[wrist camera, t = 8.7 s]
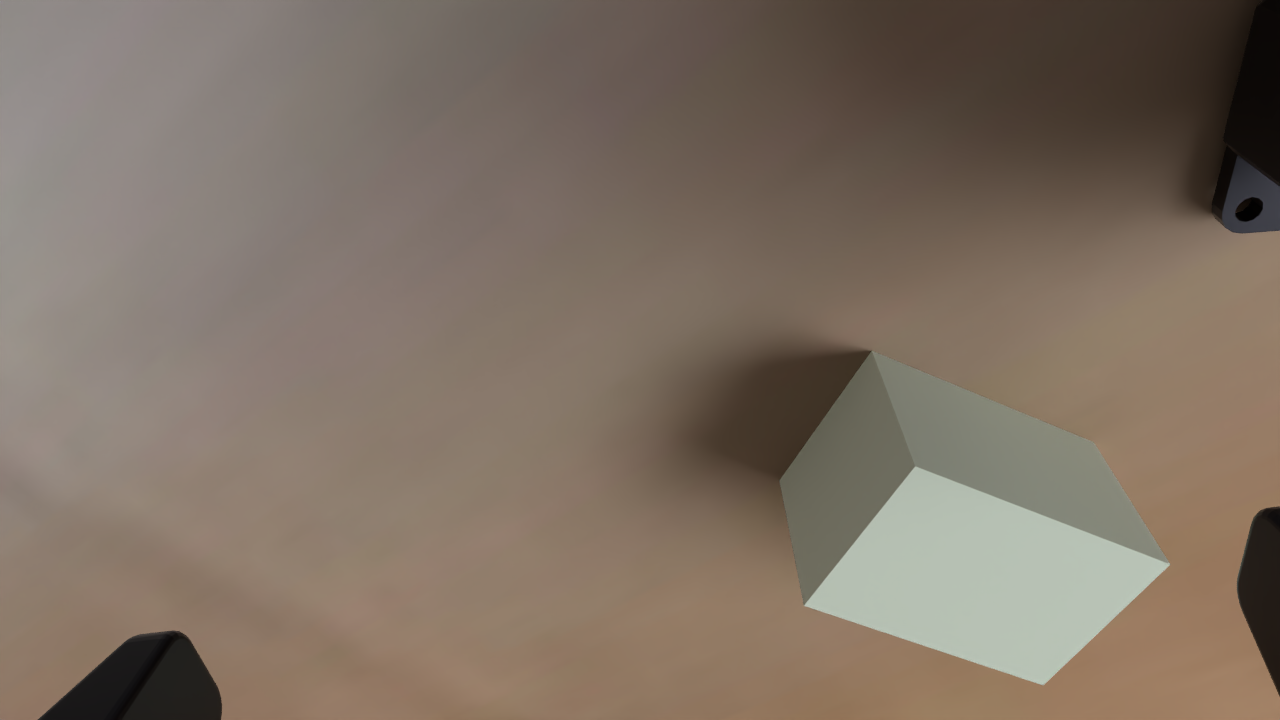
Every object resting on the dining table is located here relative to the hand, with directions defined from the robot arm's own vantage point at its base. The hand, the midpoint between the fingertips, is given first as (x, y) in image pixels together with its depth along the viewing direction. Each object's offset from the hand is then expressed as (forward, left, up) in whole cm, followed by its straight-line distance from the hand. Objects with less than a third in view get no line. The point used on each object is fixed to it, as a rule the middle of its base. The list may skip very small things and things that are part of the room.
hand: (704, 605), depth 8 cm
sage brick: (-6, +9, -12) cm, 16 cm away
